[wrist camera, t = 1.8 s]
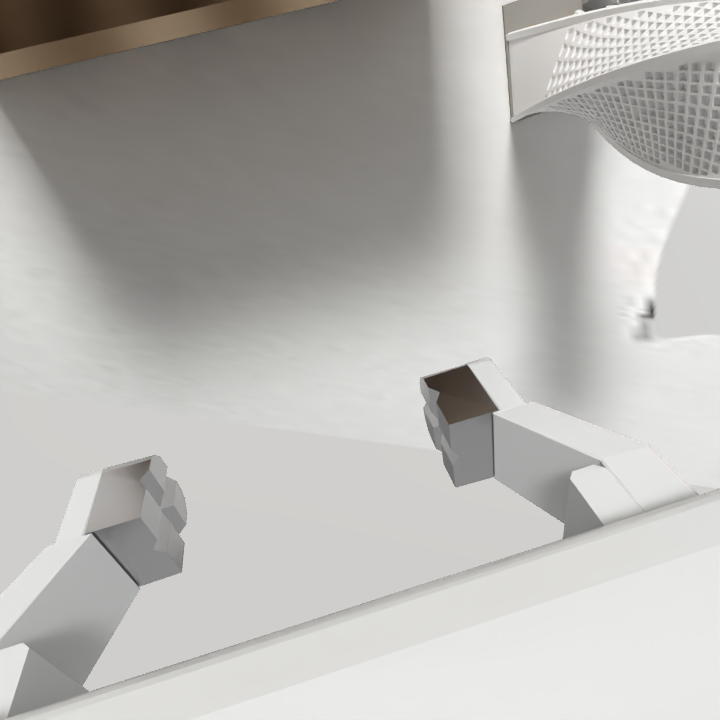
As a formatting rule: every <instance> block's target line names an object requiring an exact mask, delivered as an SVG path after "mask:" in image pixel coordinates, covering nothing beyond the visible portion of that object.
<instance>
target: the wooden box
mask: <svg viewBox="0 0 720 720" xmlns="http://www.w3.org/2000/svg"><path fill="white" fill-rule="evenodd" d="M336 1H340V0H0V80H2V79H6V78H11V77H15V76H19V75H24V74H28V73H32V72H36V71H41V70H45V69H49V68H53V67H58V66H62V65H66V64H71V63H75V62H79V61H83V60H88V59H92V58H96V57H100V56H105V55H109V54H113V53H118V52H122V51H126V50H130V49H135V48H139V47H143V46H148V45H152V44H156V43H160V42H165V41H169V40H173V39H177V38H182V37H186V36H190V35H195V34H199V33H203V32H207V31H212V30H216V29H220V28H224V27H229V26H233V25H237V24H242V23H246V22H250V21H254V20H259V19H263V18H267V17H271V16H276V15H280V14H284V13H289V12H293V11H297V10H301V9H306V8H310V7H314V6H318V5H323V4H327V3H331V2H336Z"/></svg>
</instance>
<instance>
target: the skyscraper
mask: <svg viewBox="0 0 720 720" xmlns="http://www.w3.org/2000/svg"><path fill="white" fill-rule="evenodd" d="M608 5H615V6H610V7H606V6H608ZM502 10H503V23H504V37H505V50H506V63H507V76H508V90H509V103H510V116H511V118H510V120H511V123H514V122H516V121H519V120H522V119H525V118H528V117H531V116H533V115H536V114H539V113H542V112H549V111H551V112H563V113H568V114H572V115H575V116H578V117H580V118H583V119H585V120H587V121H589V122H590V123H591V124H592V125H593V126H594V127H595V129H596V130H597V131H598V132H599V133H600V134H601V135H602V136H603V137H604V138H605V139H606V141H607V142H608V143H610V144H611V145H612V146H613V147H614V148H615V149H616V150H617V151H618V152H620V153H621V154H622V155H624V156H625V157H626V158H628V159H629V160H630V161H632V162H633V163H635V164H637V165H639V166H640V167H642V168H644V169H645V170H647V171H650V172H652V173H654V174H656V175H659V176H661V177H664V178H667V179H670V180H673V181H676V182H680V183H685V184H690V185H695V186H700V187H708V188H718V189H720V0H518V1H515V2H512V3H509V4H507V5H504V6H502Z"/></svg>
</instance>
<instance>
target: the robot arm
mask: <svg viewBox="0 0 720 720" xmlns="http://www.w3.org/2000/svg"><path fill="white" fill-rule="evenodd" d="M420 387H421V393H422V395H423V397H424V399H425V401H426V404H425V406H424V414H425V420H426V423H427V427H428V431H429V433H430V436H431V438H432V441H433V443H434V445H435V447H436V449H438V450H440V451H442V455H443V462H444V465H445V468H446V469H447V471H448V473H449V475H450V477H451V479H452V481H453V483H454V485H455V487H459V486H463V485H466V484H470V483H473V482H477V481H481V480H484V479H488V478H491V477H495V479H496V480H498V481H499V482H501V483H502V484H504V485H506V486H507V487H509V488H510V489H512V490H513V491H515V492H516V493H518V494H520V495H521V496H523V497H524V498H526V499H527V500H529V501H530V502H532V503H533V504H535V505H536V506H538V507H540V508H541V509H543V510H544V511H546V512H547V513H549V514H550V515H552V516H554V517H555V518H557V519H558V520H560V521H561V522H563V523H564V524H565V525H564V534H563V539H562V540H559V541H556V542H552V543H550V544H547V545H543V546H540V547H537V548H534V549H531V550H528V551H525V552H522V553H518V554H515V555H512V556H509V557H506V558H503V559H500V560H497V561H494V562H490V563H487V564H484V565H481V566H478V567H475V568H472V569H469V570H466V571H463V572H459V573H457V574H453V575H450V576H447V577H444V578H441V579H438V580H435V581H432V582H428V583H426V584H422V585H419V586H416V587H413V588H410V589H407V590H404V591H401V592H398V593H394V594H391V595H388V596H385V597H382V598H379V599H376V600H373V601H370V602H367V603H363V604H360V605H357V606H354V607H351V608H348V609H345V610H342V611H339V612H336V613H333V614H330V615H327V616H324V617H320V618H317V619H314V620H311V621H308V622H305V623H302V624H299V625H295V626H292V627H289V628H286V629H283V630H280V631H277V632H274V633H271V634H268V635H264V636H261V637H258V638H255V639H252V640H249V641H246V642H243V643H239V644H236V645H233V646H230V647H227V648H224V649H221V650H218V651H215V652H212V653H208V654H205V655H203V656H199V657H196V658H193V659H190V660H187V661H183V662H180V663H177V664H174V665H171V666H168V667H165V668H162V669H159V670H155V671H152V672H149V673H146V674H143V675H140V676H137V677H134V678H131V679H128V680H124V681H121V682H118V683H115V684H112V685H109V686H105V687H102V688H99V689H96V690H93V691H90V692H89V691H88V690H86V689H85V688H84V687H83V684H84V682H85V681H86V679H87V677H88V675H89V674H90V672H91V671H92V669H93V667H94V665H95V664H96V662H97V660H98V659H99V657H100V655H101V654H102V652H103V650H104V649H105V647H106V645H107V644H108V642H109V640H110V639H111V637H112V635H113V634H114V632H115V630H116V629H117V627H118V625H119V623H120V622H121V620H122V618H123V617H124V615H125V613H126V612H127V610H128V608H129V607H130V605H131V603H132V602H133V600H134V598H135V596H136V595H137V593H138V591H139V590H140V588H139V586H142V585H145V584H148V583H151V582H154V581H157V580H160V579H163V578H166V577H169V576H172V575H175V574H178V573H181V572H182V565H183V554H184V544H185V543H184V541H183V540H182V538H181V537H180V536H179V534H180V532H181V531H182V529H183V528H184V527H185V525H186V520H187V509H186V503H185V497H184V495H183V493H182V490H181V488H180V486H179V484H178V483H177V481H175V480H173V479H171V478H168V477H166V473H167V466H166V464H165V463H164V461H163V460H162V458H161V457H160V456H157V455H153V456H149V457H145V458H142V459H138V460H134V461H130V462H127V463H123V464H119V465H116V466H112V467H108V468H107V469H102V470H98V471H95V472H91V473H87V474H84V475H82V476H81V477H79V478H78V479H77V481H76V483H75V486H74V489H73V492H72V495H71V498H70V501H69V503H68V506H67V509H66V512H65V515H64V518H63V521H62V523H61V526H60V529H59V532H58V535H57V538H56V541H55V544H54V545H51V546H47V547H46V548H45V549H44V550H43V551H42V552H41V553H40V554H39V555H38V556H37V557H36V558H35V559H34V560H33V562H32V563H31V564H30V565H29V566H28V567H27V568H26V569H25V570H24V571H23V572H22V573H21V574H20V575H19V576H18V577H17V578H16V579H15V580H14V582H13V583H12V584H11V585H10V586H9V587H8V588H7V589H6V590H5V591H4V592H3V593H2V594H1V595H0V720H720V489H717V490H714V491H711V492H708V493H704V494H701V495H699V494H698V493H697V492H696V491H695V490H694V489H693V488H692V487H691V486H690V485H689V484H688V483H687V482H686V481H685V480H684V479H683V478H682V477H681V476H680V475H679V474H678V473H677V472H676V471H675V470H674V469H673V468H672V467H671V466H670V465H669V464H668V463H667V462H666V461H665V460H664V459H663V458H662V457H661V456H660V455H659V454H658V453H657V452H656V451H655V450H654V449H653V448H652V447H651V446H650V445H647V444H644V443H642V442H639V441H637V440H634V439H631V438H629V437H626V436H623V435H621V434H618V433H615V432H613V431H610V430H608V429H605V428H602V427H600V426H597V425H594V424H592V423H589V422H586V421H584V420H581V419H579V418H576V417H573V416H571V415H568V414H565V413H563V412H560V411H557V410H555V409H552V408H550V407H547V406H544V405H542V404H539V403H536V402H534V401H531V402H528V403H526V402H525V401H524V400H523V399H522V397H521V396H520V395H519V394H518V392H517V391H516V390H515V389H514V387H513V386H512V385H511V384H510V382H509V381H508V380H507V379H506V377H505V376H504V375H503V374H502V372H501V371H500V370H499V369H498V367H497V366H496V365H495V364H494V362H493V361H492V360H491V359H490V358H487V357H485V358H482V359H479V360H476V361H473V362H469V363H466V364H465V365H461V366H458V367H455V368H451V369H448V370H445V371H441V372H438V373H434V374H431V375H428V376H424V377H421V378H420Z"/></svg>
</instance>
